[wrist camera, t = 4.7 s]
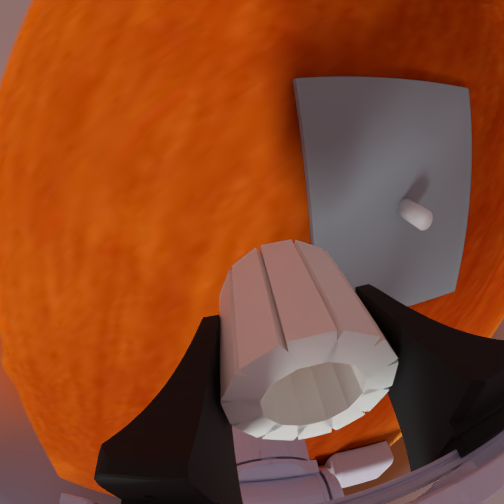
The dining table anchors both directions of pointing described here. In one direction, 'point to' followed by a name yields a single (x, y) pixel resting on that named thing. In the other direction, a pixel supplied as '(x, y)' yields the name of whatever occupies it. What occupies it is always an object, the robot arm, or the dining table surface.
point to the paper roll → (297, 345)
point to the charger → (360, 463)
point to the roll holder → (388, 179)
